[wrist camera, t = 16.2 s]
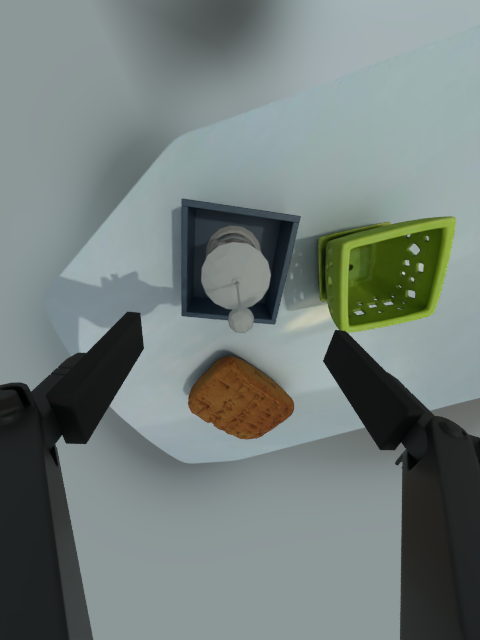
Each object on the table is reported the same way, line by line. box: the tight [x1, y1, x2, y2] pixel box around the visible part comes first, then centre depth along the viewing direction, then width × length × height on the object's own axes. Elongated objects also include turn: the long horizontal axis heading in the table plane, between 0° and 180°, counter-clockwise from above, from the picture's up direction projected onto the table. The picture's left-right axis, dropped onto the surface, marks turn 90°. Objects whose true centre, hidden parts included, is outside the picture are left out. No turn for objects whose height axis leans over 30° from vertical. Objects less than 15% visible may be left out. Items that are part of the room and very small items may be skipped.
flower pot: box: [318, 217, 456, 333], centre depth 33 cm, size 14×14×13 cm
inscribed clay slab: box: [188, 356, 294, 439], centre depth 49 cm, size 22×17×8 cm
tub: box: [182, 199, 300, 324], centre depth 34 cm, size 17×16×8 cm
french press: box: [201, 225, 271, 333], centre depth 26 cm, size 10×12×25 cm
